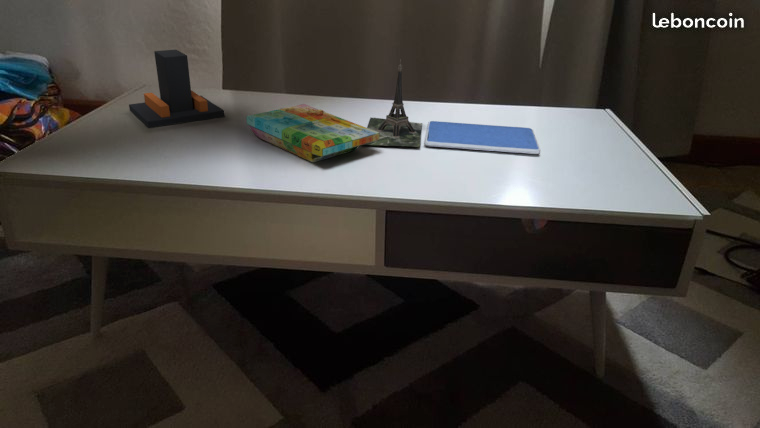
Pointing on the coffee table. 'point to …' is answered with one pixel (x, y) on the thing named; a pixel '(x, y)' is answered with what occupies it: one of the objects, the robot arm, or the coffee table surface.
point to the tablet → (481, 137)
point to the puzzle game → (310, 132)
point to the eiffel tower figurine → (396, 123)
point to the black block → (174, 80)
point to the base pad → (159, 114)
